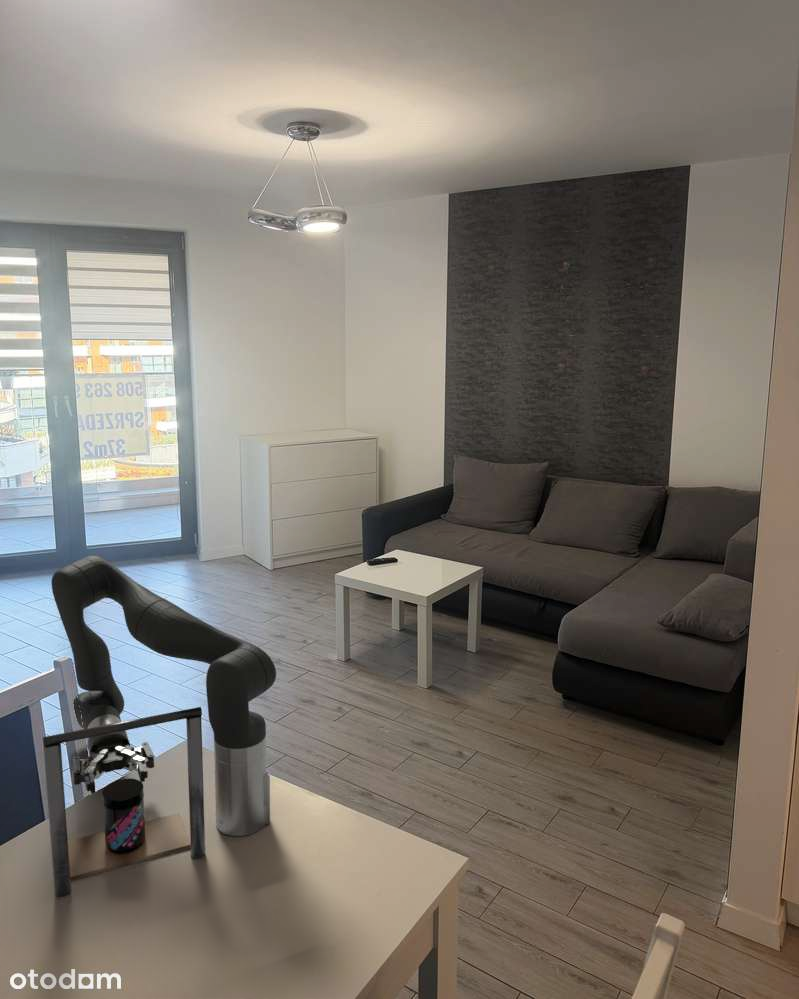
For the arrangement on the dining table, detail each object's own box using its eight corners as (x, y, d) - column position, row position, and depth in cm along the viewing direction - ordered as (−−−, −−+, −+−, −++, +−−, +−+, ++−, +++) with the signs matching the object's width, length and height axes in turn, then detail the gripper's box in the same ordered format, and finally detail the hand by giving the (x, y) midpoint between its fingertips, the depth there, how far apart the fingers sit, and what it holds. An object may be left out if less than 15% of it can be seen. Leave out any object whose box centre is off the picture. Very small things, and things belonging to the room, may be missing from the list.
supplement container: (97, 853, 129) (93, 798, 127) (117, 828, 135) (114, 776, 133) (134, 858, 128) (131, 803, 126) (153, 833, 134) (150, 780, 132)
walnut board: (179, 815, 140) (179, 812, 140) (190, 847, 132) (190, 844, 132) (62, 845, 131) (62, 842, 131) (66, 881, 123) (66, 878, 123)
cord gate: (203, 848, 131) (199, 704, 126) (206, 857, 129) (202, 710, 124) (54, 890, 121) (42, 734, 115) (55, 899, 119) (43, 741, 113)
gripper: (67, 731, 147) (74, 773, 133) (143, 716, 153) (158, 755, 139) (69, 765, 148) (77, 811, 134) (145, 749, 155) (159, 791, 141)
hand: (118, 782), depth 137 cm, fingers open, 8 cm apart
